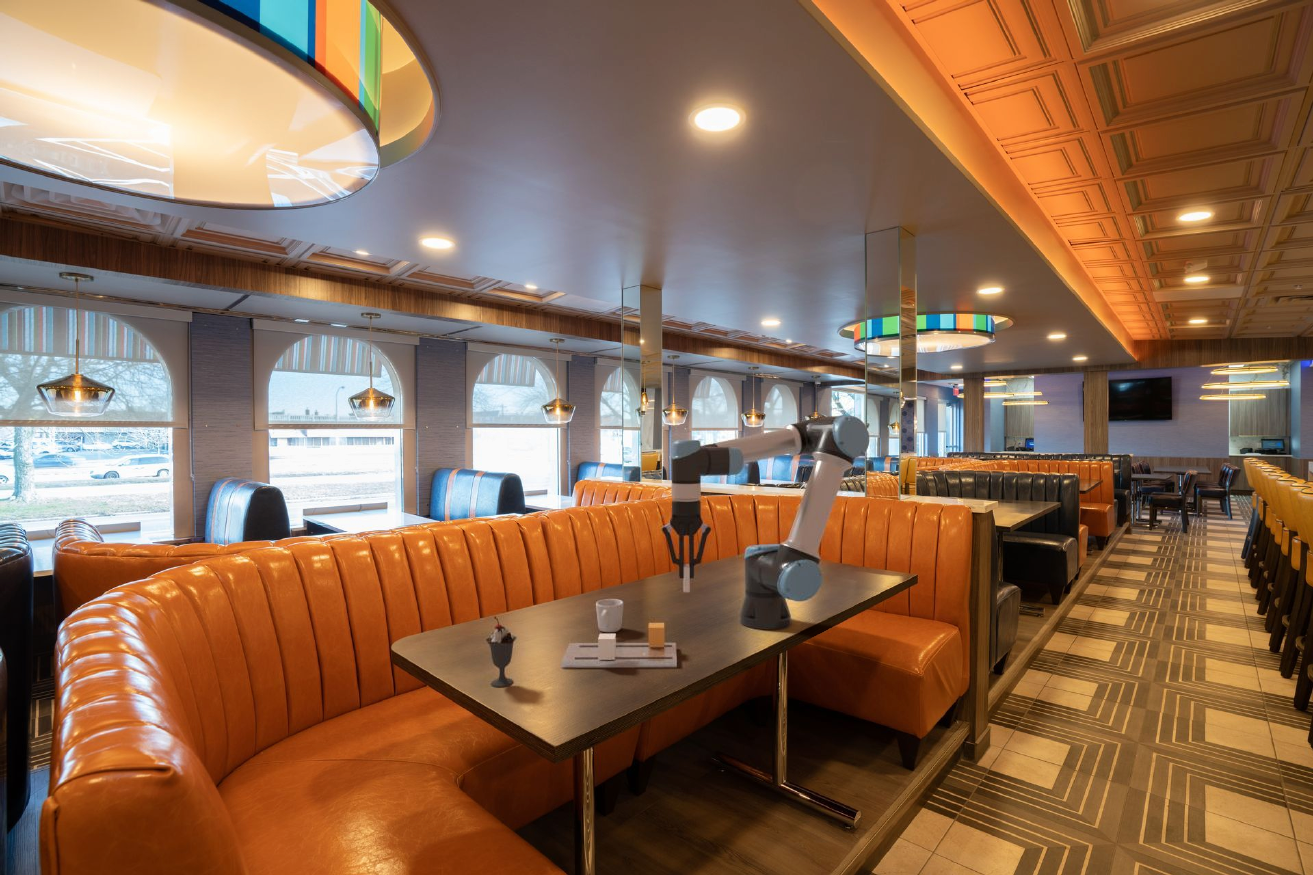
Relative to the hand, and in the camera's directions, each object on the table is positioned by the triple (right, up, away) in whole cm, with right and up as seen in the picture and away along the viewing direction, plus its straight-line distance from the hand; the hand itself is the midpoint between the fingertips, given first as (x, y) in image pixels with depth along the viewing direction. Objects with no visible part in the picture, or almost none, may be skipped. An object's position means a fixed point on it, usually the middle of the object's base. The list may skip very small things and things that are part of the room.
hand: (686, 590), depth 158 cm
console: (-17, -16, -4) cm, 23 cm away
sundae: (-43, -17, -19) cm, 50 cm away
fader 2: (-8, -14, 0) cm, 16 cm away
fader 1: (-20, -14, -8) cm, 26 cm away
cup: (-22, -16, +17) cm, 32 cm away
